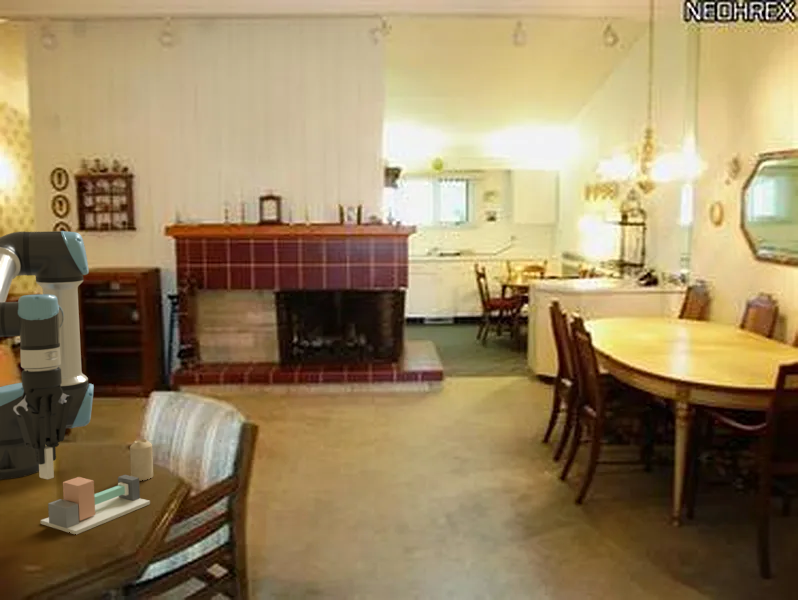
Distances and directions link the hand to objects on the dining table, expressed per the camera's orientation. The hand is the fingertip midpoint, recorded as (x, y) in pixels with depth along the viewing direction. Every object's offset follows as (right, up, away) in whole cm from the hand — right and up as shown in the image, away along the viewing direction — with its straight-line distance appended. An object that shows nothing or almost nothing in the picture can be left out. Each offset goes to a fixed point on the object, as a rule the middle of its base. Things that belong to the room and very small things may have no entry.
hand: (46, 477), depth 154 cm
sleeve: (+4, -11, +8) cm, 14 cm away
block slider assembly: (+6, -11, +12) cm, 17 cm away
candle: (+7, -9, +36) cm, 38 cm away
